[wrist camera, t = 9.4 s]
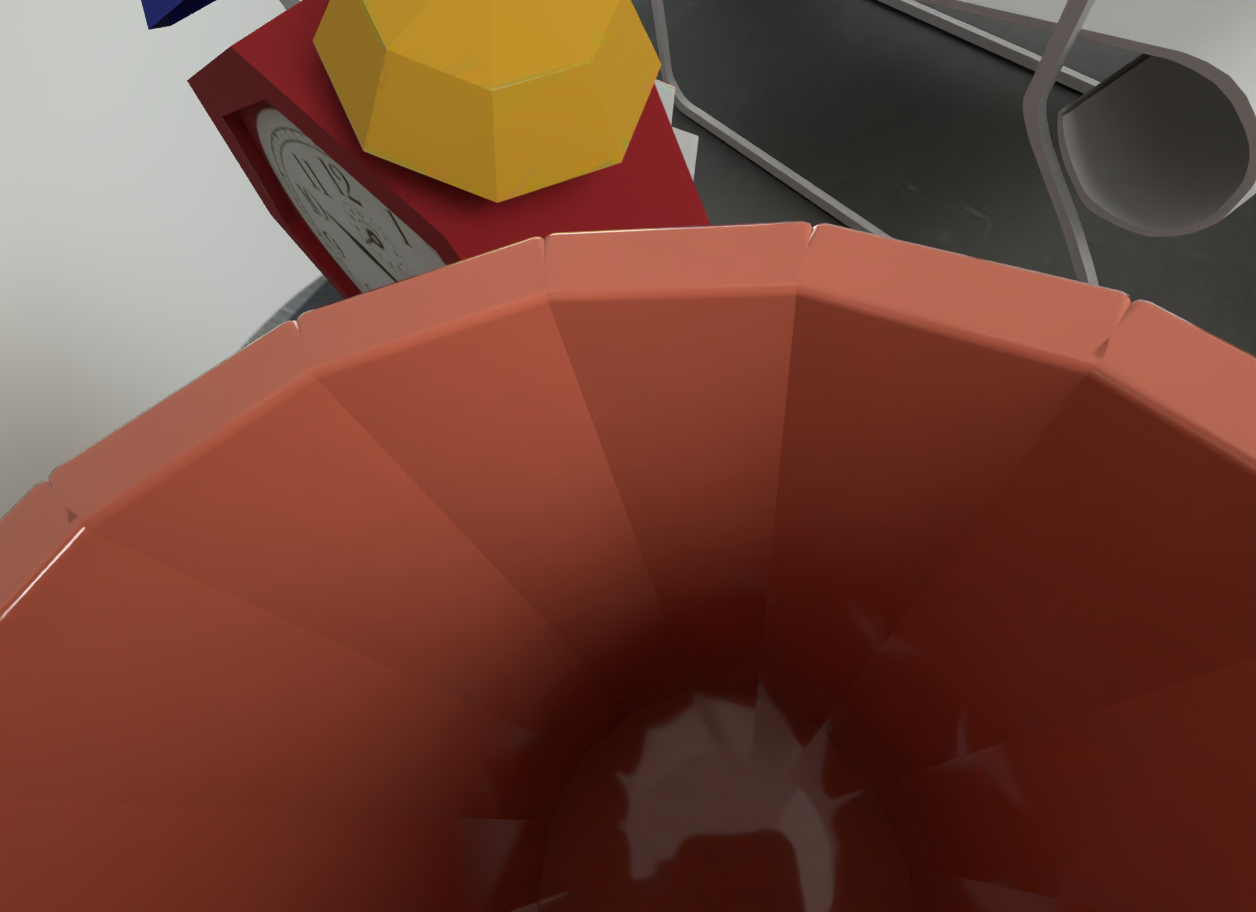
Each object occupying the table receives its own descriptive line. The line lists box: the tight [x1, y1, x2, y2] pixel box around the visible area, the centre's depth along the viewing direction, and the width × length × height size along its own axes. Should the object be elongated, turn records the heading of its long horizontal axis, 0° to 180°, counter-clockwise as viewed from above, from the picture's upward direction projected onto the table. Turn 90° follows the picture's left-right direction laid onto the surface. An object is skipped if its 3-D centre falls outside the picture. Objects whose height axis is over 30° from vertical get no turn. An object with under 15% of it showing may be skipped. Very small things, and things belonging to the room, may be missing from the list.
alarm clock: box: [141, 0, 710, 299], centre depth 18 cm, size 15×9×20 cm, turn 49°
